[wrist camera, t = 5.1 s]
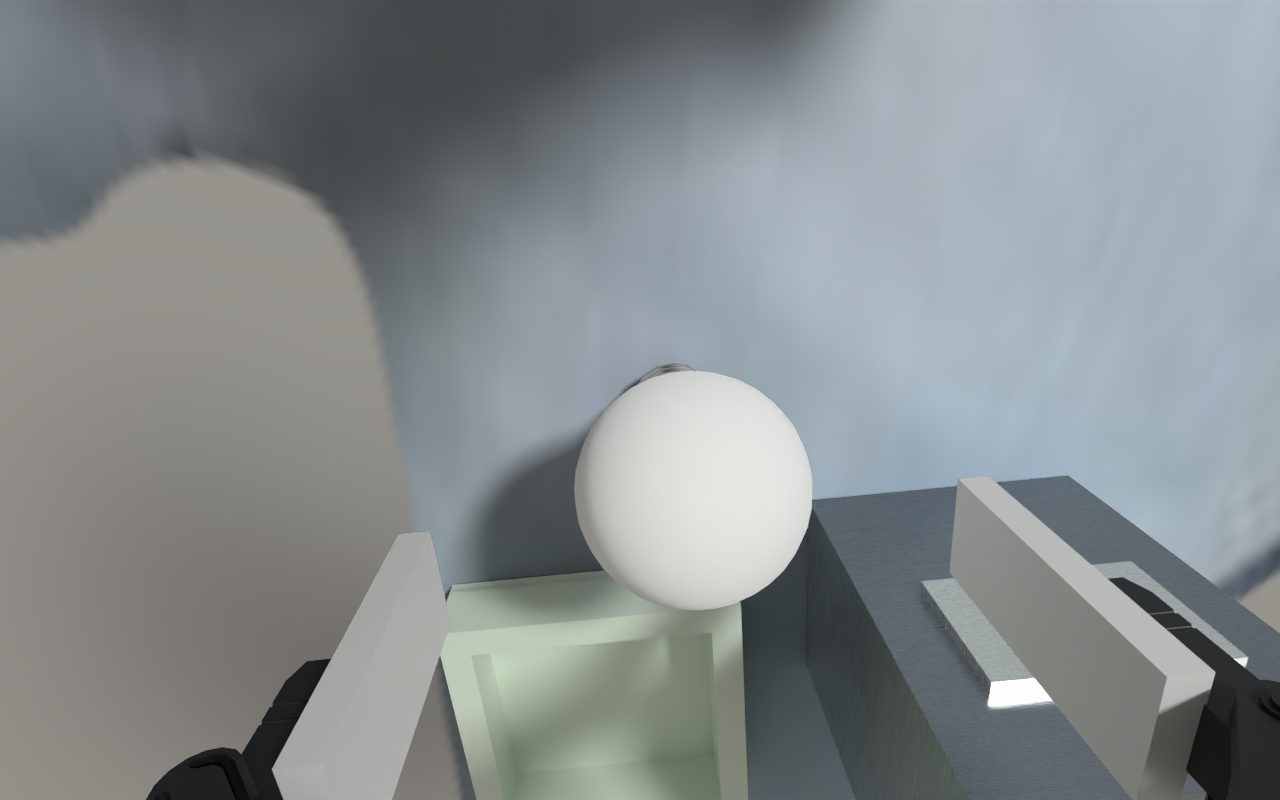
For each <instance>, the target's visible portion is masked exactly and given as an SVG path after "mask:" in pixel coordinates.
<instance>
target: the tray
mask: <svg viewBox="0 0 1280 800" xmlns="http://www.w3.org/2000/svg"><path fill="white" fill-rule="evenodd" d="M446 604H447V608H448V613H449V617H450V621H451V623H450V626H449V629H448V632H447V635H446V638H445V641H444V644H443V647H442V650H441V653H440V657H441V660H442V664H443V668H444V672H445V676H446V680H447V684H448V688H449V692H450V696H451V700H452V704H453V708H454V712H455V716H456V720H457V724H458V728H459V732H460V736H461V740H462V744H463V748H464V752H465V756H466V760H467V764H468V768H469V772H470V776H471V780H472V784H473V788H474V792H475V796H476V800H748V781H747V753H746V726H745V698H744V671H743V644H742V616H741V603H740V601H739V602H737V603H735V604H731V605H728V606H724V607H720V608H716V609H707V610H678V609H673V608H668V607H664V606H659V605H656V604H654V603H651V602H649V601H646V600H644V599H642V598H640V597H638V596H637V595H635V594H633V593H632V592H630V591H629V590H627V589H626V588H624V587H623V586H622V585H620V584H619V583H618V582H617V581H616V580H614V579H613V578H612V577H611V576H610V575H609V574H608V573H607V572H606V571H605V570H602V571H592V572H581V573H571V574H560V575H550V576H540V577H529V578H519V579H508V580H498V581H488V582H477V583H467V584H456V585H452V588H451V591H450V593H449V596H448V599H447V602H446Z"/></svg>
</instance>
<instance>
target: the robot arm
mask: <svg viewBox="0 0 1280 800" xmlns="http://www.w3.org/2000/svg"><path fill="white" fill-rule="evenodd" d="M949 572H950V574H951V575H952V576H953V577H954V579H955V580H956V581H957V582H958V584H959V585H960V586H961V587H962V589H963V590H964V591H965V592H966V594H967V595H968V596H969V597H970V599H971V600H972V601H973V602H974V604H975V605H976V606H977V607H978V609H979V610H980V611H981V612H982V614H983V615H984V616H985V617H986V618H987V620H988V621H989V622H990V623H991V625H992V626H993V627H994V628H995V630H996V631H997V632H998V633H999V635H1000V636H1001V637H1002V638H1003V640H1004V641H1005V642H1006V643H1007V645H1008V646H1009V647H1010V648H1011V650H1012V651H1013V652H1014V653H1015V655H1016V656H1017V657H1018V658H1019V660H1020V661H1021V662H1022V663H1023V665H1024V666H1025V667H1026V668H1027V670H1028V671H1029V672H1030V673H1031V675H1032V676H1033V677H1034V678H1035V679H1036V681H1037V682H1038V683H1039V684H1040V686H1041V687H1042V688H1043V689H1044V691H1045V692H1046V693H1047V694H1048V696H1049V697H1050V698H1051V699H1052V701H1053V702H1054V703H1055V704H1056V706H1057V707H1058V708H1059V709H1060V711H1061V712H1062V713H1063V714H1064V716H1065V717H1066V718H1067V719H1068V721H1069V722H1070V723H1071V724H1072V726H1073V727H1074V728H1075V729H1076V731H1077V732H1078V733H1079V734H1080V736H1081V737H1082V738H1083V739H1084V741H1085V742H1086V743H1087V744H1088V745H1089V747H1090V748H1091V749H1092V750H1093V752H1094V753H1095V754H1096V755H1097V757H1098V758H1099V759H1100V760H1101V762H1102V763H1103V764H1104V765H1105V767H1106V768H1107V769H1108V770H1109V772H1110V773H1111V774H1112V775H1113V777H1114V778H1115V779H1116V780H1117V782H1118V783H1119V784H1120V785H1121V787H1122V788H1123V789H1124V790H1125V792H1126V793H1127V794H1128V795H1129V797H1130V798H1131V799H1132V800H1180V798H1181V794H1182V791H1183V787H1184V784H1185V780H1186V776H1187V773H1189V774H1190V775H1191V777H1192V778H1193V779H1194V780H1195V781H1196V782H1197V783H1198V784H1199V785H1200V786H1201V787H1202V788H1203V789H1204V791H1205V792H1206V793H1207V794H1206V797H1205V800H1280V682H1276V681H1271V680H1259V679H1258V678H1257V677H1256V676H1254V675H1253V674H1252V673H1251V672H1249V671H1248V670H1247V669H1246V668H1245V667H1243V666H1242V665H1241V664H1240V663H1238V662H1237V661H1236V660H1235V659H1234V658H1232V657H1231V656H1230V655H1229V654H1227V653H1226V652H1225V651H1224V650H1223V649H1221V648H1220V647H1219V646H1218V645H1216V644H1215V643H1214V642H1213V641H1212V640H1210V639H1209V638H1208V637H1207V636H1205V635H1204V634H1203V633H1202V632H1201V631H1199V630H1198V629H1197V628H1193V627H1192V624H1191V623H1189V622H1188V621H1187V620H1186V619H1185V618H1183V617H1182V616H1181V615H1180V614H1178V613H1174V609H1172V608H1171V607H1170V606H1169V605H1167V604H1166V603H1165V602H1164V601H1163V600H1161V599H1160V598H1159V597H1158V596H1156V595H1155V594H1154V593H1153V592H1151V591H1149V590H1147V589H1145V588H1143V587H1141V586H1139V585H1137V584H1135V583H1133V582H1132V581H1130V580H1128V579H1126V578H1124V577H1120V578H1110V579H1107V578H1106V577H1105V576H1104V575H1103V574H1101V573H1100V572H1099V571H1098V570H1097V569H1096V568H1094V567H1093V566H1092V565H1091V564H1090V563H1089V562H1088V561H1086V560H1085V559H1084V558H1083V557H1082V556H1081V555H1079V554H1078V553H1077V552H1076V551H1075V550H1074V549H1072V548H1071V547H1070V546H1069V545H1068V544H1067V543H1066V542H1064V541H1063V540H1062V539H1061V538H1060V537H1059V536H1057V535H1056V534H1055V533H1054V532H1053V531H1052V530H1050V529H1049V528H1048V527H1047V526H1046V525H1045V524H1044V523H1042V522H1041V521H1040V520H1039V519H1038V518H1037V517H1035V516H1034V515H1033V514H1032V513H1031V512H1030V511H1029V510H1027V509H1026V508H1025V507H1024V506H1023V505H1022V504H1020V503H1019V502H1018V501H1017V500H1016V499H1015V498H1013V497H1012V496H1011V495H1010V494H1009V493H1008V492H1007V491H1005V490H1004V489H1003V488H1002V487H1001V486H1000V485H998V484H997V483H996V482H995V481H994V480H993V479H991V478H990V477H989V476H984V477H974V478H964V479H958V485H957V496H956V507H955V517H954V528H953V539H952V550H951V560H950V571H949ZM450 623H451V621H450V617H449V613H448V608H447V604H446V600H445V595H444V591H443V587H442V582H441V578H440V574H439V569H438V565H437V561H436V556H435V552H434V548H433V543H432V539H431V535H430V531H429V532H419V533H409V534H399V535H398V537H397V539H396V540H395V542H394V544H393V546H392V548H391V550H390V551H389V553H388V555H387V557H386V559H385V561H384V562H383V564H382V566H381V568H380V570H379V572H378V574H377V575H376V577H375V579H374V581H373V583H372V585H371V587H370V588H369V590H368V592H367V594H366V596H365V598H364V600H363V601H362V603H361V605H360V607H359V609H358V611H357V612H356V615H355V616H354V618H353V620H352V622H351V624H350V625H349V627H348V629H347V631H346V633H345V635H344V637H343V639H342V641H341V642H340V644H339V646H338V648H337V649H336V651H335V653H334V655H333V657H332V659H324V660H315V661H307V662H306V663H305V664H304V665H303V666H302V667H301V668H299V669H298V670H297V671H296V672H295V673H294V674H293V675H292V676H291V677H290V678H289V679H288V680H286V682H285V683H284V685H283V687H282V688H281V690H280V691H279V693H278V695H277V696H276V698H275V700H274V702H273V706H272V707H270V708H269V710H268V711H267V713H266V715H265V716H264V718H263V720H262V725H259V726H258V728H257V730H256V732H255V733H254V735H253V736H252V738H251V740H250V741H249V743H248V744H247V746H246V748H245V750H244V751H243V753H242V754H240V753H239V752H238V751H237V750H236V749H230V748H223V747H222V748H217V749H211V750H207V751H204V752H201V753H199V754H197V755H194V756H192V757H190V758H187V759H186V760H185V761H183V762H182V763H180V764H178V765H177V766H176V767H174V768H173V769H171V770H170V771H168V772H167V773H166V774H165V775H164V776H163V777H162V778H161V779H160V780H159V781H158V782H157V783H156V784H155V785H154V787H153V789H152V790H151V792H150V794H149V795H148V798H147V799H146V800H392V798H393V795H394V792H395V789H396V786H397V783H398V780H399V777H400V774H401V771H402V768H403V765H404V762H405V759H406V756H407V753H408V750H409V747H410V744H411V741H412V738H413V735H414V732H415V729H416V726H417V723H418V720H419V717H420V714H421V711H422V708H423V705H424V702H425V698H426V696H427V693H428V690H429V687H430V683H431V681H432V678H433V675H434V672H435V668H436V665H437V662H438V659H439V656H440V653H441V650H442V647H443V644H444V641H445V638H446V635H447V632H448V629H449V626H450Z"/></svg>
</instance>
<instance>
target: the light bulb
mask: <svg viewBox="0 0 1280 800" xmlns="http://www.w3.org/2000/svg"><path fill="white" fill-rule="evenodd" d="M574 495H575V504H576V511H577V517H578V523H579V525H580V528H581V530H582V533H583V535H584V538H585V540H586V542H587V544H588V546H589V548H590V550H591V552H592V553H593V555H594V556H595V558H596V559H597V561H598V562H599V564H600V565H601V567H602V568H603V569H604V570H605V571H606V572H607V573H608V574H609V575H610V576H611V577H612V578H613V579H614V580H616V581H617V582H618V583H619V584H620V585H622V586H623V587H624V588H626V589H627V590H629V591H630V592H632V593H633V594H635V595H637V596H638V597H640V598H642V599H644V600H646V601H649V602H651V603H654V604H656V605H659V606H664V607H668V608H673V609H678V610H707V609H716V608H720V607H724V606H728V605H731V604H735V603H737V602H739V601H741V600H744V599H746V598H748V597H750V596H752V595H754V594H756V593H757V592H759V591H760V590H762V589H763V588H765V587H766V586H768V585H769V584H770V583H771V582H772V581H773V580H775V579H776V578H777V577H778V576H779V575H780V574H781V573H782V572H783V571H784V570H785V568H786V567H787V565H788V564H789V563H790V561H791V560H792V558H793V557H794V556H795V554H796V552H797V550H798V548H799V546H800V544H801V541H802V539H803V537H804V535H805V533H806V530H807V528H808V523H809V519H810V514H811V510H812V474H811V470H810V466H809V461H808V457H807V454H806V452H805V449H804V446H803V444H802V442H801V440H800V438H799V436H798V434H797V432H796V430H795V428H794V426H793V425H792V424H791V422H790V421H789V420H788V419H787V417H786V416H785V415H784V414H783V412H782V411H781V410H780V409H779V408H778V407H777V406H776V405H775V404H774V403H773V402H772V401H771V400H769V399H768V398H767V397H766V396H764V395H763V394H762V393H761V392H759V391H758V390H757V389H755V388H753V387H751V386H749V385H747V384H745V383H743V382H741V381H739V380H737V379H734V378H730V377H727V376H723V375H719V374H716V373H711V372H700V371H696V370H694V369H693V368H691V367H689V366H687V365H681V364H675V363H671V364H666V365H662V366H657V367H655V368H654V369H652V370H651V371H649V372H648V373H646V374H645V375H644V376H643V377H642V379H641V380H640V381H639V383H638V384H637V385H636V386H634V387H632V388H630V389H629V390H627V391H626V392H625V393H624V394H622V395H621V396H620V397H619V398H617V399H616V400H615V401H613V402H612V403H611V404H610V405H609V406H608V407H607V408H606V409H605V410H604V412H603V413H602V414H601V415H600V416H599V417H598V419H597V420H596V421H595V422H594V424H593V426H592V428H591V429H590V431H589V433H588V435H587V437H586V439H585V441H584V444H583V447H582V450H581V453H580V456H579V460H578V463H577V466H576V470H575V484H574Z"/></svg>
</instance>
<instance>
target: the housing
mask: <svg viewBox="0 0 1280 800" xmlns="http://www.w3.org/2000/svg"><path fill="white" fill-rule="evenodd" d="M997 484H998V485H1000V486H1001V487H1002V488H1003V489H1004V490H1005V491H1007V492H1008V493H1009V494H1010V495H1011V496H1012V497H1013V498H1015V499H1016V500H1017V501H1018V502H1019V503H1020V504H1022V505H1023V506H1024V507H1025V508H1026V509H1027V510H1029V511H1030V512H1031V513H1032V514H1033V515H1034V516H1035V517H1037V518H1038V519H1039V520H1040V521H1041V522H1042V523H1044V524H1045V525H1046V526H1047V527H1048V528H1049V529H1050V530H1052V531H1053V532H1054V533H1055V534H1056V535H1057V536H1059V537H1060V538H1061V539H1062V540H1063V541H1064V542H1066V543H1067V544H1068V545H1069V546H1070V547H1071V548H1072V549H1074V550H1075V551H1076V552H1077V553H1078V554H1079V555H1081V556H1082V557H1083V558H1084V559H1085V560H1086V561H1088V562H1089V563H1090V564H1091V565H1092V566H1093V567H1094V568H1096V569H1097V570H1098V571H1099V572H1100V573H1101V574H1103V575H1104V576H1105V577H1106V578H1107V579H1110V578H1120V577H1124V578H1126V579H1128V580H1130V581H1132V582H1133V583H1135V584H1137V585H1139V586H1141V587H1143V588H1145V589H1147V590H1149V591H1151V592H1153V593H1154V594H1155V595H1156V596H1158V597H1159V598H1160V599H1161V600H1163V601H1164V602H1165V603H1166V604H1167V605H1169V606H1170V607H1171V608H1172V609H1174V613H1178V614H1180V615H1181V616H1182V617H1183V618H1185V619H1186V620H1187V621H1188V622H1189V623H1191V624H1192V627H1193V628H1197V629H1198V630H1199V631H1201V632H1202V633H1203V634H1204V635H1205V636H1207V637H1208V638H1209V639H1210V640H1212V641H1213V642H1214V643H1215V644H1216V645H1218V646H1219V647H1220V648H1221V649H1223V650H1224V651H1225V652H1226V653H1227V654H1229V655H1230V656H1231V657H1232V658H1234V659H1235V660H1236V661H1237V662H1238V663H1240V664H1241V665H1242V666H1243V667H1245V668H1246V669H1247V670H1248V671H1249V672H1251V673H1252V674H1253V675H1254V676H1256V677H1257V678H1258V679H1259V680H1271V681H1276V682H1280V633H1278V632H1277V631H1276V630H1274V629H1273V628H1271V627H1270V626H1269V625H1267V624H1266V623H1265V622H1264V621H1262V620H1261V619H1260V618H1258V617H1257V616H1256V615H1254V614H1253V613H1252V612H1250V611H1249V610H1248V609H1246V608H1245V607H1244V606H1242V605H1241V604H1240V603H1238V602H1237V601H1235V600H1234V599H1233V598H1231V597H1230V596H1229V595H1227V594H1226V593H1225V592H1223V591H1222V590H1221V589H1219V588H1218V587H1217V586H1215V585H1214V584H1213V583H1211V582H1210V581H1209V580H1207V579H1206V578H1205V577H1203V576H1202V575H1201V574H1199V573H1198V572H1197V571H1195V570H1194V569H1193V568H1191V567H1190V566H1189V565H1187V564H1186V563H1185V562H1183V561H1182V560H1181V559H1179V558H1178V557H1177V556H1175V555H1174V554H1173V553H1171V552H1170V551H1169V550H1167V549H1166V548H1165V547H1163V546H1162V545H1160V544H1159V543H1158V542H1156V541H1155V540H1154V539H1152V538H1151V537H1150V536H1148V535H1147V534H1146V533H1144V532H1143V531H1142V530H1140V529H1139V528H1138V527H1136V526H1135V525H1134V524H1132V523H1131V522H1130V521H1128V520H1127V519H1126V518H1124V517H1123V516H1122V515H1120V514H1119V513H1118V512H1116V511H1115V510H1114V509H1112V508H1111V507H1110V506H1108V505H1107V504H1106V503H1104V502H1103V501H1102V500H1100V499H1099V498H1098V497H1096V496H1095V495H1094V494H1092V493H1091V492H1089V491H1088V490H1087V489H1085V488H1084V487H1083V486H1081V485H1080V484H1079V483H1077V482H1076V481H1075V480H1073V479H1072V478H1071V477H1069V476H1061V477H1051V478H1040V479H1030V480H1019V481H1009V482H998V483H997ZM956 496H957V487H946V488H936V489H925V490H915V491H904V492H894V493H883V494H873V495H863V496H852V497H842V498H831V499H821V500H812V510H811V514H810V519H809V539H808V648H807V667H808V670H809V673H810V676H811V678H812V681H813V684H814V686H815V689H816V692H817V695H818V697H819V700H820V703H821V705H822V708H823V711H824V714H825V716H826V719H827V722H828V724H829V727H830V730H831V733H832V735H833V738H834V741H835V743H836V746H837V749H838V752H839V754H840V757H841V760H842V762H843V765H844V768H845V771H846V773H847V776H848V779H849V781H850V784H851V787H852V790H853V792H854V795H855V798H856V800H1132V799H1131V798H1130V797H1129V795H1128V794H1127V793H1126V792H1125V790H1124V789H1123V788H1122V787H1121V785H1120V784H1119V783H1118V782H1117V780H1116V779H1115V778H1114V777H1113V775H1112V774H1111V773H1110V772H1109V770H1108V769H1107V768H1106V767H1105V765H1104V764H1103V763H1102V762H1101V760H1100V759H1099V758H1098V757H1097V755H1096V754H1095V753H1094V752H1093V750H1092V749H1091V748H1090V747H1089V745H1088V744H1087V743H1086V742H1085V741H1084V739H1083V738H1082V737H1081V736H1080V734H1079V733H1078V732H1077V731H1076V729H1075V728H1074V727H1073V726H1072V724H1071V723H1070V722H1069V721H1068V719H1067V718H1066V717H1065V716H1064V714H1063V713H1062V712H1061V711H1060V709H1059V708H1058V707H1057V706H1056V704H1055V703H1054V702H1053V701H1052V699H1051V698H1050V697H1049V696H1048V694H1047V693H1046V692H1045V691H1044V689H1043V688H1042V687H1041V686H1040V684H1039V683H1038V682H1037V681H1036V679H1035V678H1034V677H1033V676H1032V675H1031V673H1030V672H1029V671H1028V670H1027V668H1026V667H1025V666H1024V665H1023V663H1022V662H1021V661H1020V660H1019V658H1018V657H1017V656H1016V655H1015V653H1014V652H1013V651H1012V650H1011V648H1010V647H1009V646H1008V645H1007V643H1006V642H1005V641H1004V640H1003V638H1002V637H1001V636H1000V635H999V633H998V632H997V631H996V630H995V628H994V627H993V626H992V625H991V623H990V622H989V621H988V620H987V618H986V617H985V616H984V615H983V614H982V612H981V611H980V610H979V609H978V607H977V606H976V605H975V604H974V602H973V601H972V600H971V599H970V597H969V596H968V595H967V594H966V592H965V591H964V590H963V589H962V587H961V586H960V585H959V584H958V582H957V581H956V580H955V579H954V577H953V576H952V575H951V574H950V572H949V571H950V560H951V550H952V539H953V528H954V517H955V507H956ZM1206 794H1207V793H1206V792H1205V791H1204V789H1203V788H1202V787H1201V786H1200V785H1199V784H1198V783H1197V782H1196V781H1195V780H1194V779H1193V778H1192V777H1191V775H1190V774H1189V773H1187V776H1186V780H1185V784H1184V787H1183V791H1182V794H1181V798H1180V800H1205V797H1206Z"/></svg>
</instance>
